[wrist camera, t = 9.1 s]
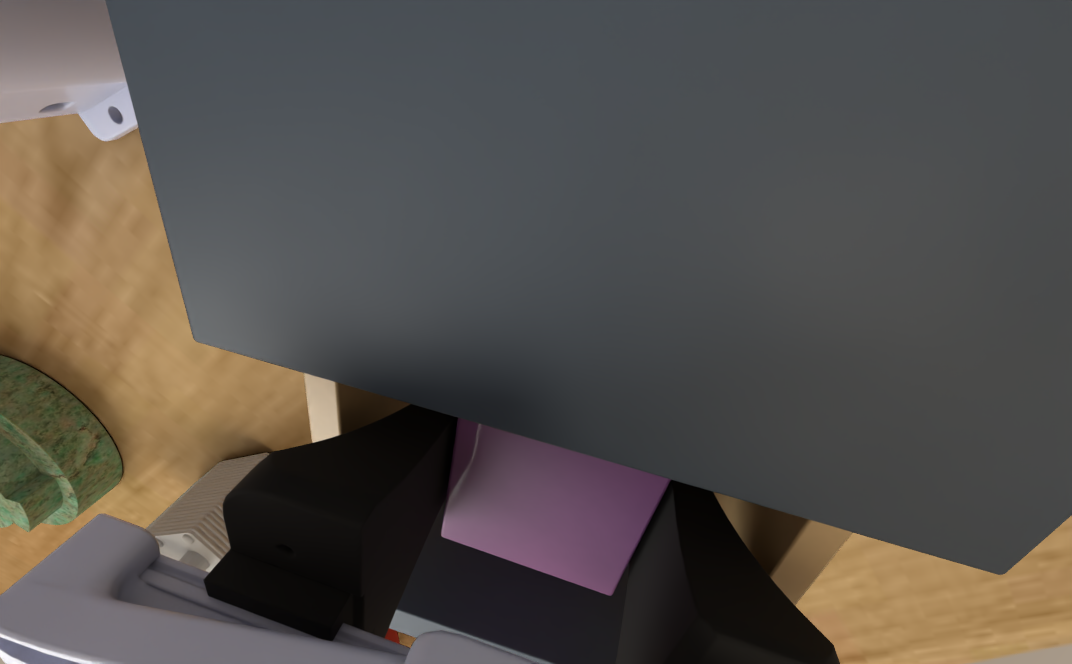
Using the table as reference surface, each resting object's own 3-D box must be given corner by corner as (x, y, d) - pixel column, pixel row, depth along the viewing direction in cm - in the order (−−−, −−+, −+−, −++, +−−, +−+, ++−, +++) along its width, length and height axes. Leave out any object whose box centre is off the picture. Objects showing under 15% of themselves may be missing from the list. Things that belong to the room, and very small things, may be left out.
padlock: (240, 523, 29) (60, 723, 20) (188, 474, 27) (-27, 666, 19) (317, 497, 26) (142, 721, 17) (262, 440, 24) (45, 653, 16)
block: (675, 345, 14) (675, 475, 10) (628, 456, 17) (612, 598, 12) (521, 299, 15) (458, 405, 10) (497, 414, 17) (439, 537, 13)
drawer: (677, 595, 21) (676, 799, 16) (406, 509, 23) (316, 666, 17) (927, 140, 11) (1182, 245, 6) (416, 40, 13) (207, 43, 7)
